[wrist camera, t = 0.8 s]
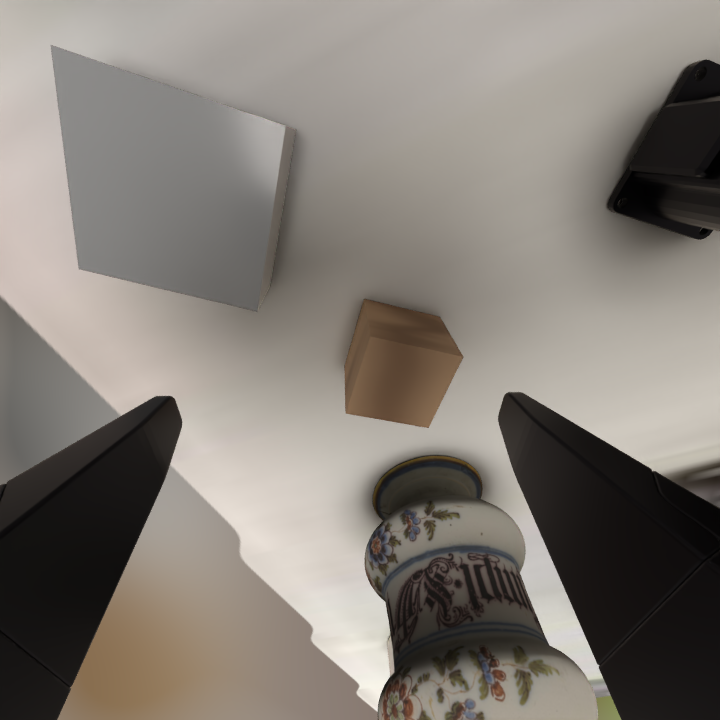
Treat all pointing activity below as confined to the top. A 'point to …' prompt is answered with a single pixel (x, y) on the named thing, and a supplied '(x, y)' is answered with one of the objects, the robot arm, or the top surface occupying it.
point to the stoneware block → (170, 183)
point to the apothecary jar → (462, 605)
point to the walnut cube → (399, 365)
